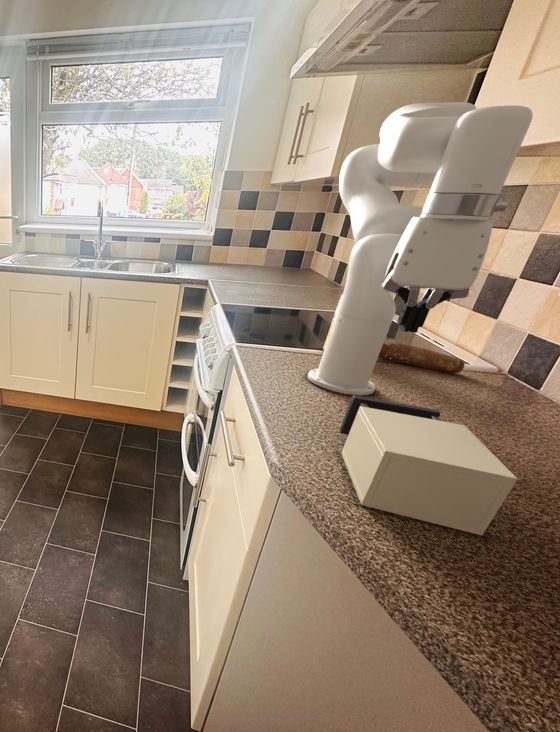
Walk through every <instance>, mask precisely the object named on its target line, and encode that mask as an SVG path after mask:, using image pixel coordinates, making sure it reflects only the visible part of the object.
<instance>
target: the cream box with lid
mask: <svg viewBox="0 0 560 732" xmlns="http://www.w3.org/2000/svg"><path fill="white" fill-rule="evenodd" d="M340 453H341V456H342V459H343V461H344V464H345V467H346V469H347V471H348V474H349V477H350V479H351V482H352V485H353V487H354V490H355V492H356V496H357V498H358V500H359V503H360V505H361V506H364V507H367V508H372V509H375V510H380V511H383V512H388V513H392V514H395V515H399V516H403V517H407V518H411V519H415V520H419V521H423V522H426V523H431V524H435V525H439V526H443V527H446V528H450V529H454V530H458V531H462V532H467V533H470V534H474V535H478V536H483V535H484V533H485V531H487V529H488V527H489V525H490V524H491V522H492V521H493V519H494V517H495V516H496V514H497V513H498V512H499V510H500V508H501V506H502V504H504V501H505V500H506V498H507V497H508V495H509V494H510V492H511V490H512V489H513V487H514V485H515V484H516V482H517V481H518V477H517V476H516V475H515V474H513V473H512V471H510V469H509V468H508V467H507V466H506V465H505V464H503V462H501V460H500V459H499V458H497V456H496V455H495V454H493V452H492V451H490V449H489V448H488V447H487V446H486V445H485V444H484V443H483V442H482V441H481V440H480V439H479V438H478V437H477V436H476V435H475V434H474V433H473V432H472V431H471V430H470V429H469V428H468V427H467V426H466V425H465V424H459V423H454V422H449V421H443V420H441V421H438V420H433V419H428V418H422V417H417V416H411V415H406V414H400V413H395V412H389V411H384V410H379V409H373V408H368V407H362V406H360V407H359V410H358V412H357V415H356V417H355V420H354V422H353V425H352V428H351V430H350V433H349V435H347V438H346V440H345V442H344V446H343V448H342V450H341V452H340Z"/></svg>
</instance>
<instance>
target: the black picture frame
mask: <svg viewBox="0 0 560 732" xmlns="http://www.w3.org/2000/svg"><path fill="white" fill-rule="evenodd" d="M360 406H362V407H368V408H373V409H379V410H384V411H389V412H395V413H400V414H406V415H411V416H417V417H422V418H428V419H433V420H438V421H442V420H441V418H440V416H441V411H439V410H438V409H434V408H428V407H423V406H417V405H411V404H406V403H400V402H395V401H388V400H383V399H377V398H373V397H366V396H362V395H351V399H350V401H349V404H348V406H347V409H346V411H345V414H344V417H343V420H342V422H341V425H340V427H339V433H340V434H342V435H347V436H348V435H349V433H350V430H351V428H352V425H353V422H354V420H355V417H356V415H357V412H358V410H359V407H360Z"/></svg>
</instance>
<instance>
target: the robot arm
mask: <svg viewBox="0 0 560 732" xmlns="http://www.w3.org/2000/svg"><path fill="white" fill-rule="evenodd" d="M533 115H534V114H533V111H532V109H531V108H529V107H528V106H523V105H515V104H514V105H512V104H511V105H510V104H509V105H494V106H485V107H479V108H477V106H476V105H475V104H473V103H470V102H465V101H464V102H463V101H457V102H456V101H455V102H454V101H453V102H417V103H410V104H407V105H404V106H402V107H400V108H398V109H396V110H394V111H393V112H391V114H389V115H388V117H386V119H385V120H384V122H382V125H381V127H380V131H379V141H380V142H379V143H376V144H375V143H374V144H370V145H369V144H368V145H364V146H361V147H359V148H357V149H355V150H353V151H352V152H350V153H349V154H348V155H347V156H346V158H345V160H344V162H343V163H342V166H341V169H340V173H339V180H338V181H339V182H338V189H339V190H338V191H339V197H340V199H341V201H342V204H343V206H344V207H345V209H346V211H347V212H348V214H349V218H350V224H351V230H352V231H351V232H352V237H353V241H354V243H355V245H354V246H353V248H352V250H351V253H350V256H349V260H348V268H347V274H346V280H345V283H344V284H345V285H344V288H343V292H342V295H343V296H342V299H341V302H340V305H339V308H338V311H337V314H336V317H335V320H334V323H333V326H332V329H331V332H330V335H329V338H328V341H327V344H326V347H325V350H323V354H322V356H321V359H320V363H319V364H318V365H319V366H318V368H313V369H310V370H309V371H308V373H307V379H308V380H309V381H310V382H311V383H313V384H314V385H316V386H318V387H320V388H322V389H325V390H327V391H331V392H335V393H339V394H343V395H349V396H353V395H355V396H369V395H372V394H374V392H375V390H376V385H375V383H373V382H372V381H371V380H370V379H371V376H372V373H373V370H374V368H375V366H376V364H377V360H378V358H379V357H378V356H379V353H380V351H381V348H382V346H383V343H384V341H385V338H387V336H388V333H389V330H390V327H391V325H392V322H393V320H394V318H395V315H396V311H397V306H396V302H395V300H394V298H393V296H392V294H391V293H393V294H396V295H397V296H398V298H399V299H400V300H401V302H402V303H403V305H402V308H401V310H400V313H399V315H398V318H397V321H396V324H397V325H398V329H400V330H401V331H402V332H405V333H408V332H411V333H413V334H416V333H418V330H419V328H422V327H424V324H425V322H426V320H427V318H428V314H429V313H430V310H431V309H434V308H435V307H436V306H437V305H439V304H441V303H443V302H445V301H447V300H455V299H465V298H467V297H468V296H469V295H470V288H471V287H472V286H473V285H474V283H475V282H476V279H477V277H478V276H479V274H480V271H481V268H482V266H483V263H484V260H485V257H486V254H487V252H488V247H489V245H490V240H491V235H492V230H493V226H494V220H489V219H490V217H492V216H493V215H494V213H497V212H500V213H501V212H502V213H503V212H504V211H506V210H507V208H508V205H509V202H508V201H502V200H500V198H501V195H500V194H501V192H502V190H503V187H504V185H505V182H506V181H507V178H508V175H509V174H510V171H511V168H512V167H513V165H514V162H515V160H516V157H517V155H518V153H519V150H520V148H521V146H522V144H523V142H524V140H525V137H526V135H527V133H528V130H529V128H530V126H531V124H532V120H533ZM431 181H433V182H432V185H431V187H430V189H429V193H428V195H427V197H426V200H425V203H424V205H423V206H421V205H419V206H418V205H404V204H403V205H402V204H400V203H399V200H398V197H397V195H396V194H395V192H394V191H393V190H392V189H390V187H391V188H392V187H393V188H394V187H395V188H418V187H422V186H425V185H427V184H429V183H430V182H431ZM421 289H423V290H424V289H425V292H424V293H423V295H422V297H421V299H420V300H419V296H420V291H421Z"/></svg>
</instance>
